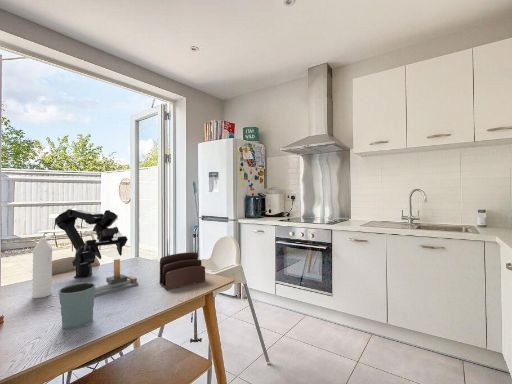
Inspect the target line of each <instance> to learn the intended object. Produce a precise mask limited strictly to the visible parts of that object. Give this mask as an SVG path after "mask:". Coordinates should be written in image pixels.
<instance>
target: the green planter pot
mask: <svg viewBox="0 0 512 384" xmlns="http://www.w3.org/2000/svg"><path fill="white" fill-rule="evenodd" d="M95 287H96V284H95V283H94V282H78V283H73V284H70V285H66V286H64V287H62V288H60V289H59V290H58V296H59V297H58V298H59V304H60V313H61V314H60V315H61V327H62V328H63V329H65V330H73V329H74V330H75V329H78V328H82V327H85V326H87V325H89V324H91V323H92V321H93V319H94V306H95V305H94V304H95V297H94V295H95Z"/></svg>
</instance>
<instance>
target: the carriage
mask: <svg viewBox="0 0 512 384" xmlns="http://www.w3.org/2000/svg"><path fill="white" fill-rule="evenodd" d="M127 277H128V276H127V275H124V274H121V259H120V258H117V259H116V258H115V259H113V276H108V277H106V284H108V283H109V284H111V285H112V284H117V283H121V282H125V281H127Z"/></svg>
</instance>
